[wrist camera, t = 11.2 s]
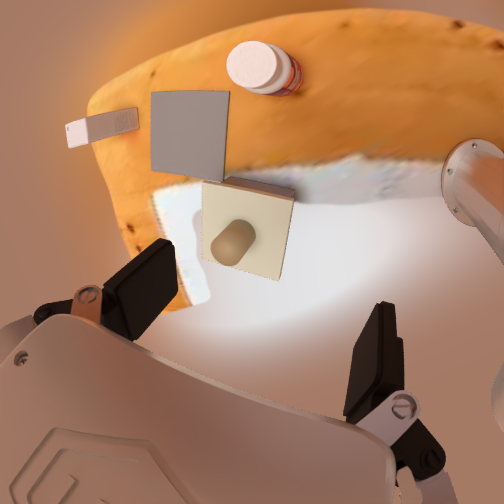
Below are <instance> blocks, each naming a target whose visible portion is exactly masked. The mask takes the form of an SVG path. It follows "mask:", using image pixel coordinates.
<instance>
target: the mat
mask: <svg viewBox="0 0 504 504" xmlns="http://www.w3.org/2000/svg"><path fill="white" fill-rule="evenodd" d="M229 99H230V92H229V91H165V92H151V171H158V172H165V173H171V174H178V175H184V176H190V177H196V178H202V179H207V180H213V181H218V182H222V181H224V169H225V153H226V138H227V124H228V111H229Z"/></svg>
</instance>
